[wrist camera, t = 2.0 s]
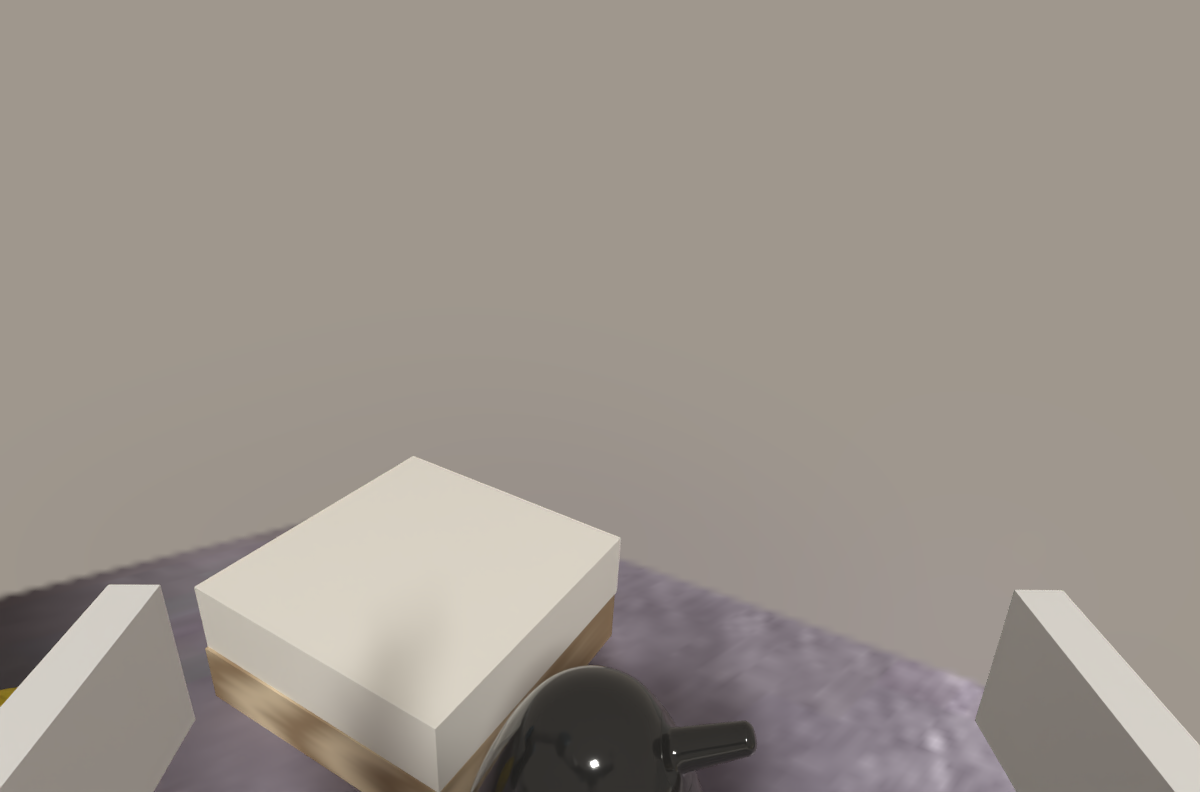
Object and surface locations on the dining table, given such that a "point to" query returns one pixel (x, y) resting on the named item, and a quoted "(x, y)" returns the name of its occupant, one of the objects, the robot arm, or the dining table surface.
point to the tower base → (346, 757)
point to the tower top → (413, 611)
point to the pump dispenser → (604, 740)
